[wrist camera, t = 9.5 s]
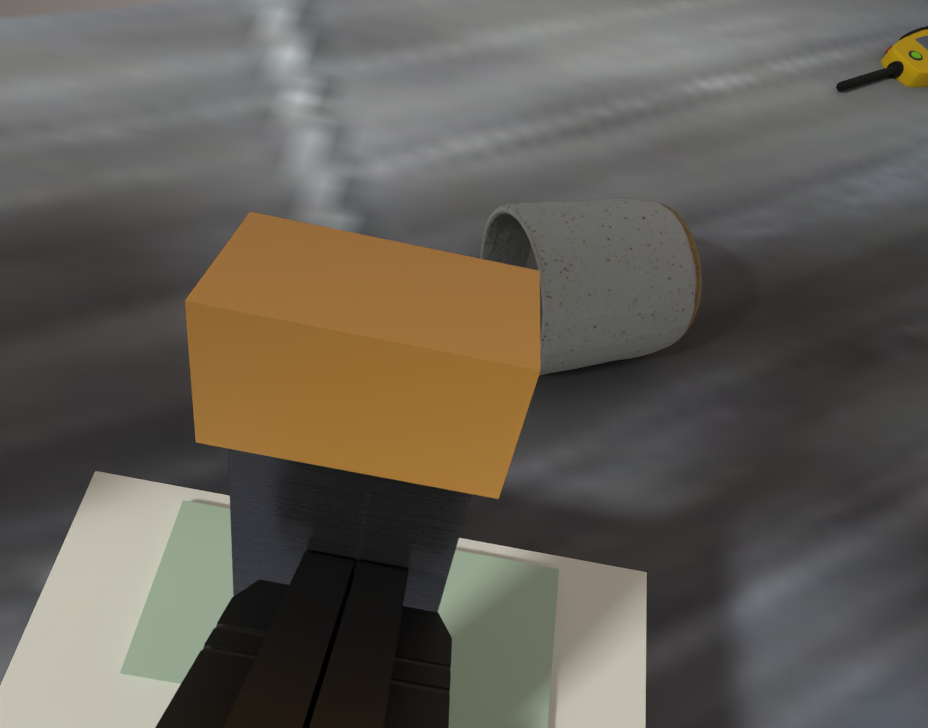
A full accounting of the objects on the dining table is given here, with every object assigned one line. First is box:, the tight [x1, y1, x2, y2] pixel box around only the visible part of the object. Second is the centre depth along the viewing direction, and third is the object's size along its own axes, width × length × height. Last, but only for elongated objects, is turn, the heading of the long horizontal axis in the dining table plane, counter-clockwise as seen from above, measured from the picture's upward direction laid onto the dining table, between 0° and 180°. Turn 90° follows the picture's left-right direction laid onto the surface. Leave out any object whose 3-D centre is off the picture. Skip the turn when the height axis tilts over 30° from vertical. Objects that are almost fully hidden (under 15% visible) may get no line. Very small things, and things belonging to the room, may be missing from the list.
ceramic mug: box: [480, 198, 702, 375], centre depth 32 cm, size 11×8×8 cm
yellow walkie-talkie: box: [836, 26, 928, 91], centre depth 50 cm, size 5×2×15 cm
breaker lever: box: [185, 212, 540, 612], centre depth 13 cm, size 2×4×17 cm, turn 82°
